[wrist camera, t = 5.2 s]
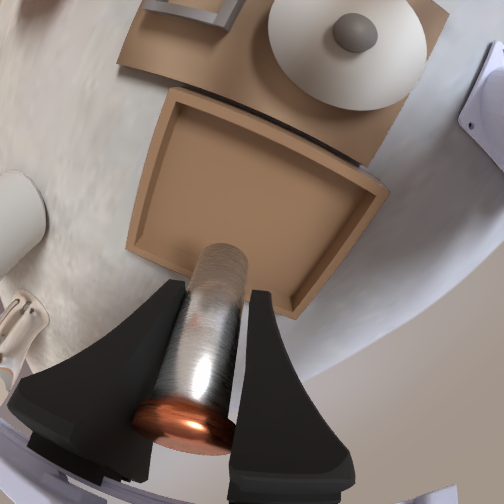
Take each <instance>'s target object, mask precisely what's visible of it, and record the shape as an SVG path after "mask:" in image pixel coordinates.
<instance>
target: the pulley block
mask: <svg viewBox="0 0 504 504" xmlns="http://www.w3.org/2000/svg"><path fill="white" fill-rule="evenodd" d="M449 15H450V14H449V13H448V12H446V11H445V10H444V9H443V8H442V7H440V6H439V5H438V4H436V3H435V2H434V1H433V0H142V2H141V4H140V6H139V9H138V11H137V13H136V15H135V17H134V20H133V22H132V24H131V27H130V29H129V31H128V34H127V36H126V39H125V41H124V44H123V46H122V49H121V52H120V55H119V57H118V60H117V63H116V64H120V65H124V66H128V67H132V68H136V69H140V70H144V71H148V72H151V73H155V74H158V75H162V76H165V77H168V78H172V79H175V80H178V81H181V82H184V83H187V84H190V85H193V86H196V87H199V88H202V89H205V90H207V91H210V92H213V93H215V94H218V95H221V96H223V97H226V98H229V99H231V100H234V101H236V102H239V103H241V104H243V105H246V106H248V107H251V108H253V109H255V110H258V111H260V112H262V113H264V114H267V115H269V116H271V117H273V118H275V119H278V120H280V121H282V122H284V123H286V124H288V125H290V126H292V127H294V128H296V129H298V130H300V131H302V132H304V133H306V134H308V135H310V136H312V137H314V138H316V139H318V140H320V141H322V142H324V143H325V144H327V145H329V146H331V147H333V148H335V149H336V150H338V151H340V152H342V153H343V154H345V155H347V156H349V157H350V158H352V159H354V160H355V161H357V162H359V163H360V164H362V165H364V166H365V167H368V165H369V163H370V162H371V160H372V159H373V157H374V155H375V153H376V152H377V150H378V148H379V147H380V145H381V143H382V142H383V140H384V138H385V137H386V135H387V133H388V131H389V130H390V128H391V126H392V124H393V123H394V121H395V119H396V117H397V116H398V114H399V112H400V110H401V109H402V107H403V105H404V103H405V101H406V99H407V98H408V96H409V94H410V92H411V91H412V90H413V89H414V88H415V86H416V85H417V83H418V82H419V80H420V78H421V76H422V74H423V72H424V68H425V64H426V62H427V60H428V58H429V56H430V54H431V52H432V50H433V48H434V46H435V44H436V42H437V40H438V38H439V36H440V34H441V32H442V30H443V27H444V25H445V23H446V21H447V19H448V17H449Z"/></svg>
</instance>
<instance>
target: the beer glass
mask: <svg viewBox="0 0 504 504" xmlns="http://www.w3.org/2000/svg"><path fill="white" fill-rule="evenodd" d="M48 323H49V316H48V313H47V311H46V310H45V308H44V306H43V305H42V304H41V303H40V301H39V300H38V299H37V298H36V297H35V296H33V295H32V294H31V293H29V292H28V291H26V290H23V289H19V290H18V291H17V292H16V293H15V295H14V297H13V299H12V301H11V303H10V304H9V306H8V307H7V309H6V310H5V311H4V312H3V313H2V314H1V315H0V406H1V405H2V403H3V402H4V400H5V398H6V397H7V395H8V394H9V392H10V390H11V388H12V387H13V385H14V383H15V381H16V379H17V377H18V374H19V372H20V370H21V367H22V364H23V362H24V359H25V357H26V354H27V352H28V349H29V347H30V345H31V343H32V341H33V340H34V338H35V337H36V336H37V334H38V333H39V332H40V331H41V330H42V329H43V328H45V327H46V326H47V325H48Z"/></svg>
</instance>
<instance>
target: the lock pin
mask: <svg viewBox="0 0 504 504" xmlns="http://www.w3.org/2000/svg"><path fill="white" fill-rule="evenodd" d="M248 268H249V264H248V259H247V257H246V255H245V254H244V253H243V252H242V251H241V250H240V249H239V248H237V247H235V246H233V245H231V244H227V243H215V244H211V245H209V246H207V247H206V248H204V249H203V251H202V252H201V254H200V256H199V259H198V261H197V264H196V267H195V269H194V272H193V275H192V277H191V280H190V283H189V286H188V288H187V291H186V294H185V297H184V300H183V302H182V305H181V308H180V311H179V314H178V317H177V320H176V322H175V325H174V328H173V331H172V334H171V337H170V340H169V343H168V346H167V349H166V352H165V355H164V358H163V362H162V365H161V368H160V371H159V374H158V377H157V380H156V384H155V387H154V390H153V393H152V397H151V400H144V401H141V402H140V403H139V404H138V405H137V408H136V411H135V415H134V418H133V421H132V424H131V425H132V428H133V429H134V430H135V431H136V432H137V433H138V434H140V435H141V436H143V437H144V438H146V439H148V440H150V441H152V442H154V443H156V444H159V445H162V446H164V447H167V448H170V449H174V450H178V451H181V452H186V453H191V454H198V455H211V456H214V455H226V454H230V453H231V450H232V444H233V439H234V434H235V428H236V425H235V424H234V423H233V422H232V421H231V420H229V419H228V413H229V405H230V398H231V391H232V383H233V376H234V369H235V362H236V354H237V347H238V340H239V333H240V325H241V318H242V311H243V304H244V297H245V289H246V282H247V275H248Z"/></svg>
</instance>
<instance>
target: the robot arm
mask: <svg viewBox="0 0 504 504" xmlns="http://www.w3.org/2000/svg"><path fill="white" fill-rule="evenodd" d="M502 50H503V52H504V45H503V44H502V43H501V42H500V41H494V42H493V44H492V46H491V49H490V51H489V54H488V56H487V59H486V61H485V63H484V66H483V68H482V70H481V72H480V75H479V77H478V79H477V81H476V83H475V85H474V87H473V89H472V92H471V94H470V96H469V98H468V100H467V102H466V104H465V106H464V108H463V109H462V111H461V113H460V115H459V118H458V122H459V125H460V126H461V127H462V128H463V129H464V130H465V131H466V132H467V133H468V134H469V135H470V136H471V137H472V138H473V139H474V140H475V141H476V142H477V143H478V144H479V145H480V146H481V147H482V148H483V150H484V151H485V152H486V153H487V154H488V155H489V156H490V157H491V158H492V160H493V161H494V162H495V163H496V164H497V165H498V167H499V168H500V169H501V170H502V171H503V173H504V54H503V52H502ZM469 123H471V128H470V129H469V126H468V125H469ZM185 294H186V290H185V281H178V280H171V279H169V280H168V281H167V282H166V283H165V284H164V285H163V286H162V287H161V288H159V289H158V290H157V291H156V292H155V293H154V294H153V295H152V296H151V297H150V298H149V299H148V300H147V301H146V302H145V303H144V304H142V305H141V306H140V307H139V308H138V309H137V310H136V311H135V312H134V313H133V314H131V315H130V316H129V317H128V318H127V319H126V320H124V321H123V322H122V323H121V324H120V325H118V326H117V327H116V328H115V329H113V330H112V331H111V332H110V333H108V334H107V335H106V336H104V337H103V338H101V339H100V340H98V341H97V342H96V343H94V344H93V345H91V346H89V347H88V348H86V349H84V350H83V351H81V352H79V353H78V354H76V355H74V356H73V357H71V358H69V359H67V360H65V361H63V362H61V363H59V364H57V365H55V366H53V367H51V368H48V369H46V370H44V371H41V372H38V373H36V374H33V375H30V376H28V377H25V378H22V379H21V380H20V382H19V384H18V385H17V387H16V389H15V391H14V393H13V395H12V396H11V398H10V400H9V402H8V404H7V406H8V409H9V410H10V411H11V413H12V414H13V415H15V416H16V417H17V418H18V419H19V420H20V421H21V422H23V423H24V424H25V425H26V426H27V427H28V428H30V429H31V430H32V431H33V433H32V435H31V437H28V436H26V435H25V434H23V433H22V432H20V431H19V430H17V429H16V428H14V427H13V426H12V425H10V424H9V423H7V422H6V421H5V420H3V419H2V418H1V417H0V489H1V490H2V491H3V492H4V493H5V494H6V495H7V496H8V497H9V498H10V499H11V500H12V501H13V502H14V503H15V504H107V500H106V499H104V498H101V497H99V496H97V495H95V494H93V493H91V492H88V491H86V490H84V489H82V488H80V487H77V486H75V485H73V484H71V483H69V481H68V479H67V476H66V475H68V476H70V477H71V478H73V479H75V480H77V481H79V482H81V483H84V484H85V485H88V486H90V487H92V488H94V489H97V490H99V491H101V492H103V493H106V494H108V495H111V496H113V497H116V498H118V499H121V500H124V501H126V502H129V503H132V504H194V503H189V502H184V501H180V500H176V499H172V498H168V497H164V496H160V495H157V494H153V493H150V492H146V491H144V490H140V489H137V488H134V487H131V486H129V485H126V484H123V483H121V480H124V481H127V482H130V481H131V480H132V481H135V482H138V483H143V482H145V481H147V480H148V475H149V466H150V458H151V452H152V446H153V442H152V441H150V440H148V439H146V438H144V437H143V436H141V435H140V434H138V433H137V432H136V431H135V430H134V429H133V428H132V425H131V424H132V421H133V418H134V415H135V411H136V408H137V405H138V404H139V403H140V402H141V401H144V400H151V397H152V393H153V390H154V387H155V384H156V380H157V377H158V374H159V371H160V368H161V365H162V362H163V358H164V355H165V352H166V349H167V346H168V343H169V340H170V337H171V334H172V331H173V328H174V325H175V322H176V320H177V317H178V314H179V311H180V308H181V305H182V302H183V300H184V297H185ZM65 474H66V475H65ZM229 475H230V483H229V489H228V495H227V500H228V501H229V504H338V503H340V501H341V492H342V491H344V490H346V489H348V488H350V487H352V486H353V485H354V484H355V471H354V465H353V461H352V458H351V455H350V452H349V450H348V449H347V448H346V447H345V446H344V444H343V443H342V442H341V441H340V440H339V439H338V437H337V436H336V435H335V434H334V432H333V431H332V430H331V428H330V427H329V426H328V425H327V423H326V422H325V420H324V419H323V418H322V416H321V415H320V413H319V411H318V410H317V408H316V407H315V405H314V404H313V402H312V401H311V399H310V397H309V396H308V394H307V393H306V391H305V389H304V387H303V385H302V383H301V382H300V380H299V378H298V376H297V374H296V372H295V370H294V368H293V366H292V363H291V361H290V359H289V356H288V354H287V352H286V349H285V347H284V344H283V341H282V338H281V335H280V332H279V329H278V326H277V323H276V319H275V315H274V310H273V305H272V297H271V293H270V292H269V291H262V290H253V289H252V292H251V297H250V302H249V316H248V331H247V346H246V368H245V376H244V382H243V388H242V394H241V400H240V406H239V412H238V417H237V423H236V428H235V434H234V439H233V444H232V450H231V455H230V460H229ZM393 504H458V495H457V487H456V485H451V486H448V487H445V488H442V489H439V490H436V491H432V492H429V493H427V494H423V495H421V496H418V497H416V498H415V499H411V500H407V501H402V502H398V503H393Z"/></svg>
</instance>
